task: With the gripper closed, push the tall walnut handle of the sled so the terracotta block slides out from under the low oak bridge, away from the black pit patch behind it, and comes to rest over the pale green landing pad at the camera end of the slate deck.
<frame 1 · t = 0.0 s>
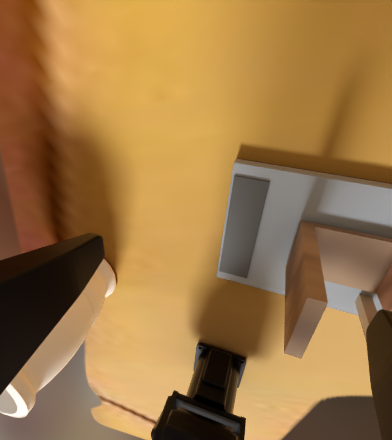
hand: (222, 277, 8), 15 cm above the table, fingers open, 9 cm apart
bridge deck: (379, 254, 21), on the table
sled: (382, 300, 17), point 6 cm above the table, slide at 0.0 cm
jar: (90, 269, 34), on the table
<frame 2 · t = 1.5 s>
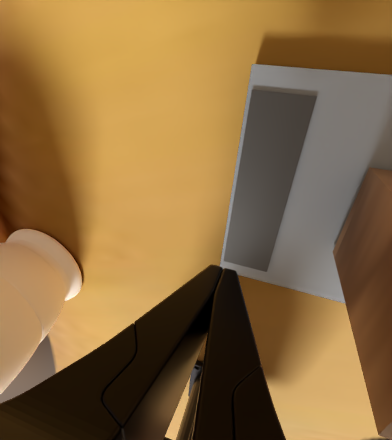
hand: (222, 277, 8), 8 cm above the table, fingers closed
jar: (49, 262, 25), on the table
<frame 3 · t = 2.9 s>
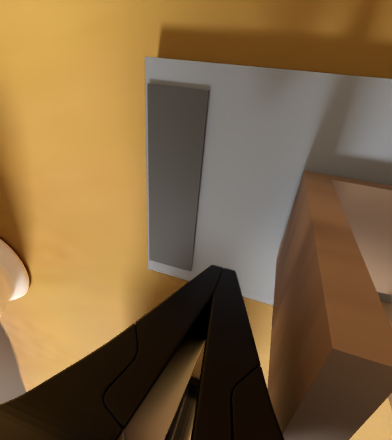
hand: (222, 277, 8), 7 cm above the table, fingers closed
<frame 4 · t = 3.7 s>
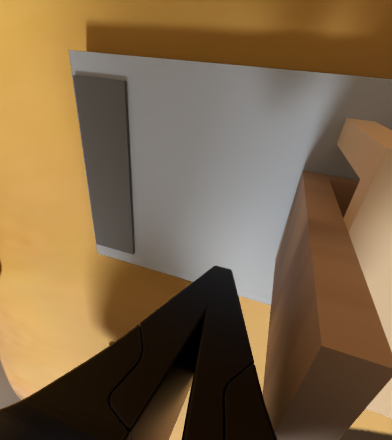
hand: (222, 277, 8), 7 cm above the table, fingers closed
bridge deck: (318, 212, 13), on the table
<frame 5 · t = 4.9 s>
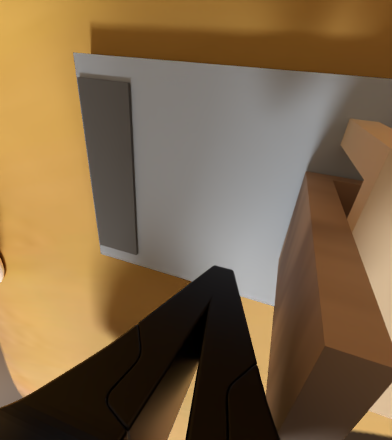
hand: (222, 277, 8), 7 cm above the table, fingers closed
bridge deck: (321, 212, 13), on the table
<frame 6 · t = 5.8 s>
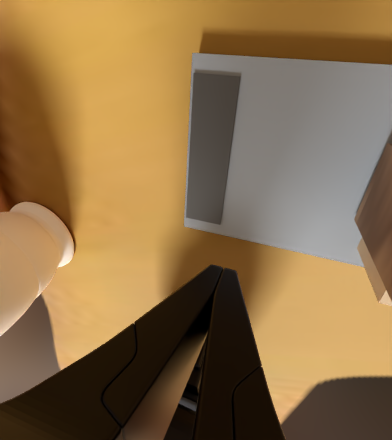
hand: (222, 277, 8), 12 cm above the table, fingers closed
bridge deck: (389, 180, 16), on the table
jar: (45, 233, 29), on the table
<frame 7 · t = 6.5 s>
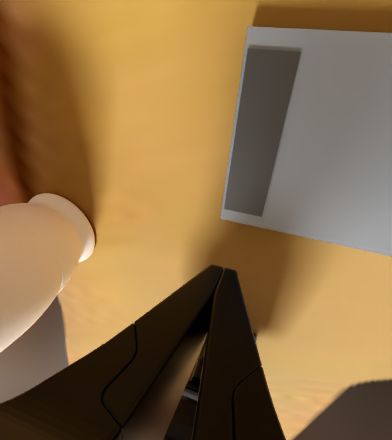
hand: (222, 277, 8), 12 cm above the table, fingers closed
jar: (64, 227, 28), on the table
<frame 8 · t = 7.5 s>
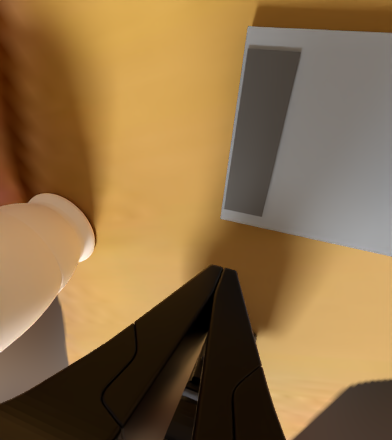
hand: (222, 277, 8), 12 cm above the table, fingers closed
jar: (64, 226, 28), on the table
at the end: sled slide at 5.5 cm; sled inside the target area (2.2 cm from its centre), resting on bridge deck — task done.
